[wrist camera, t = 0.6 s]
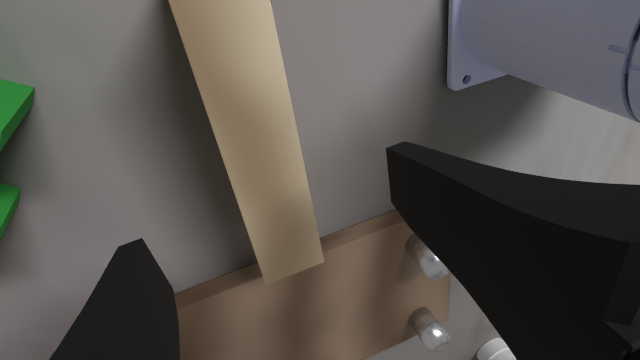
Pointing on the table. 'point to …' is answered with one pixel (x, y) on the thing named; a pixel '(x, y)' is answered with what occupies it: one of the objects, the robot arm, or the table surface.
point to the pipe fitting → (495, 351)
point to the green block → (3, 118)
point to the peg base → (324, 302)
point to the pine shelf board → (253, 126)
